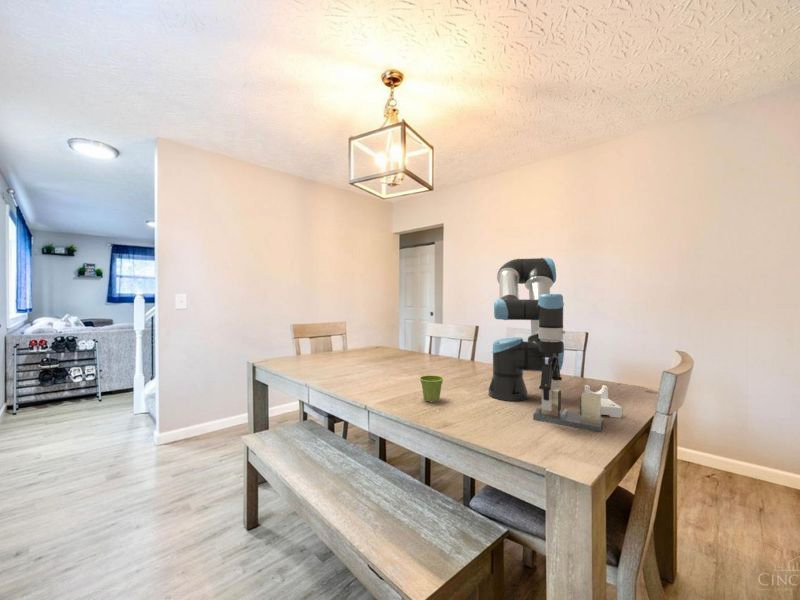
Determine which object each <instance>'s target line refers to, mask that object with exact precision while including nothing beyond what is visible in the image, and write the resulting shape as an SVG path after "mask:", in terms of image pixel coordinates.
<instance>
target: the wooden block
mask: <svg viewBox="0 0 800 600" xmlns="http://www.w3.org/2000/svg"><path fill="white" fill-rule="evenodd" d="M540 390H541V391H540V392H541V403H542V389H540ZM551 390H552V410H551V411H549V410H543V409H542V413H543V414H548V415H554V416H558V415H559V414H560V410H562V390H561V388H559V389H558V388H551Z"/></svg>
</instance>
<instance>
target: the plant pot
mask: <svg viewBox="0 0 800 600" xmlns="http://www.w3.org/2000/svg"><path fill="white" fill-rule="evenodd" d="M419 380H420V383H421V388H422V395H423V401H425V400H426V401H425V402H427V401H428V402H430V401H437V402H439V401H440V399H441V389H442V384H443V381H444V380H445V378H444V377H443V376H441V375H434V374H433V375H431V374H429V375H426V374H425V375H421V376H420V377H419ZM438 400H439V401H438Z"/></svg>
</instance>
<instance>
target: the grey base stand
mask: <svg viewBox="0 0 800 600" xmlns="http://www.w3.org/2000/svg"><path fill="white" fill-rule="evenodd" d="M532 420H534V421H540V422H544V421H545V422H546V423H549V422H550V423H551V424H555V425H561V426H566V427H569V428H570V427H571V428H577V429H582V430H586V431H591V432H596V433H597V432H598V433H601V430H602V427H603V422H604V419H603V416H602V415H601V394H594V393H587V392H584V391H582V393H580V396H579V412H574V411H570V410H568V409H567V408H564V409H561V410H560V414H559V415H558V416H554V415H548V414H543V413H542V404H538V406H537V408H536V409H535V412H534V413H533V414H532Z"/></svg>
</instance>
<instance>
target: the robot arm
mask: <svg viewBox="0 0 800 600" xmlns="http://www.w3.org/2000/svg"><path fill="white" fill-rule="evenodd" d="M556 270H557V268H556V264H555V261H554V260H553V259H552V258H549V257H540V258H537V257H536V258H516V259H515V258H514V259H512V260H510V261H507V262H506V263H504V264H503V265H502V266H501V267H500V268H499V270H498V272H497V273H496V277H497V278H496V280H497V282H498V284H499V287H498V289H499V294H498V295H499V299H495V300H494V302H493V303H494V304H493V315H494V316H493V318H494V319H495V320H503V321H530V329H531V330H530V332H531V333H530V336H528V337H527V341H524V339H523V337H517V336H516V337H504V338H500V339H496V340H495V341H493V343H492V376H491V380H490V383H489V386H488V396H490V397H491V396H492V397H491V398H493V397H494V399H496V398H497V399H496V400H500V399H501V400H503V401H507V402H508V401H510V402H511V401H512V402H517V401H518V402H519V401H523V400H527V399H528V393H529V392H528V389H527V387H526V383H525V380H524V376H523V375H524V372H537V373H538V372H539V373H540V372H541V375H540V376H541V377H540V385H539V387H538V389H539V390H541V389H542V402H541V405H542V409H543V410H549V411H551V410H552V390H551V388H558V389H560V381H562V379H563V378H562V377H561V371H562V367H563V363H564V357H565V344H564V341H563V340H564V335H565V334H566V331H565V330H564V306H565V303H564V296H563V294H562V293H551V288H552V287H553V285H554V284H555V283H556V281H557V271H556ZM520 284H522V285H523V284H524V287H525V288H526V290H528V297H529V299H520V292H519V285H520ZM501 400H500V401H501Z"/></svg>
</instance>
